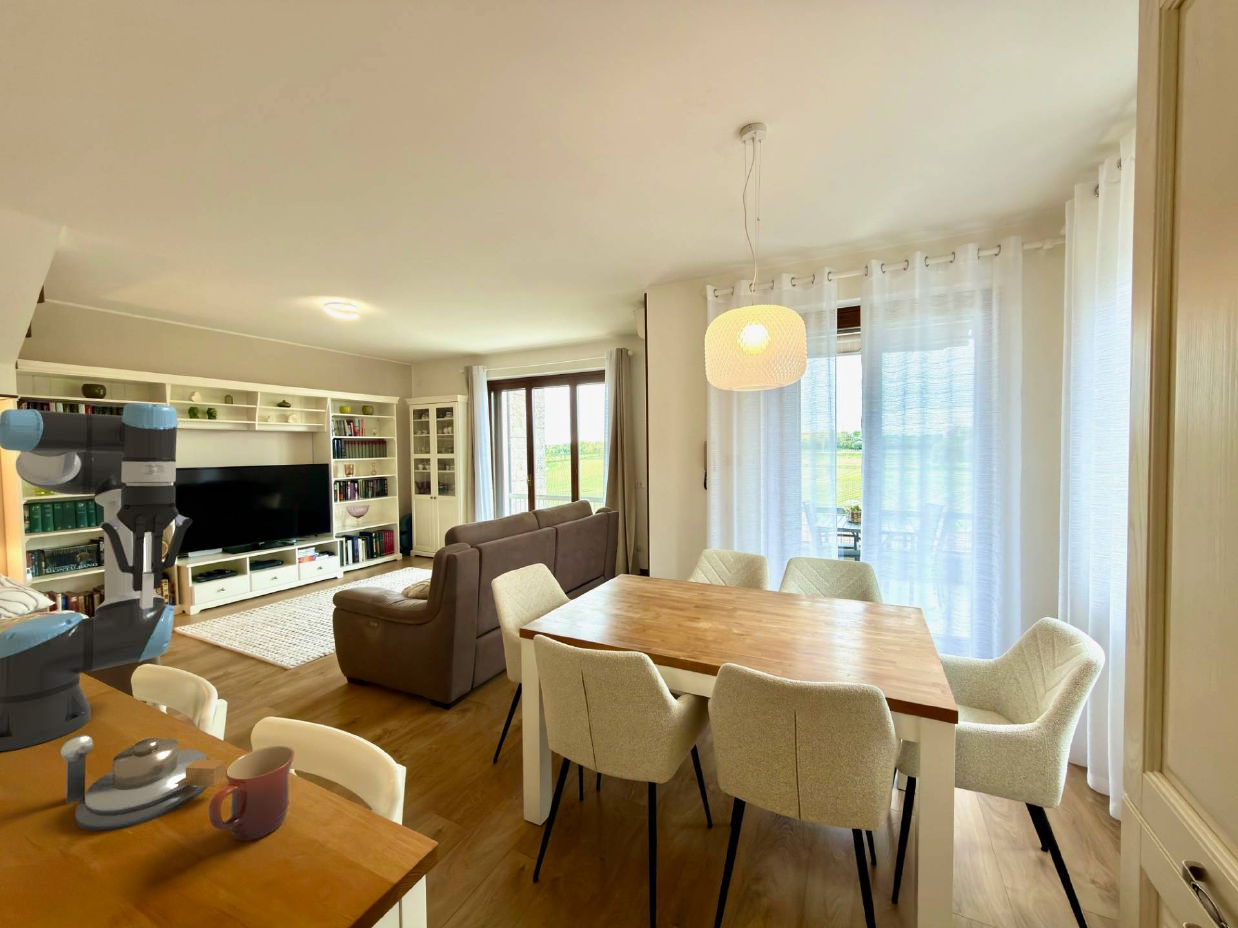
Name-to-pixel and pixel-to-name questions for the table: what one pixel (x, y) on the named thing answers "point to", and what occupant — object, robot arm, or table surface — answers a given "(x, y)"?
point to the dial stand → (76, 765)
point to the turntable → (155, 785)
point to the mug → (255, 793)
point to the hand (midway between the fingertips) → (146, 606)
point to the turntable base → (133, 812)
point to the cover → (144, 763)
